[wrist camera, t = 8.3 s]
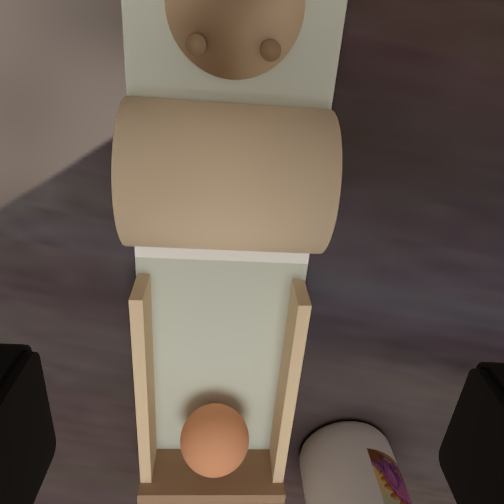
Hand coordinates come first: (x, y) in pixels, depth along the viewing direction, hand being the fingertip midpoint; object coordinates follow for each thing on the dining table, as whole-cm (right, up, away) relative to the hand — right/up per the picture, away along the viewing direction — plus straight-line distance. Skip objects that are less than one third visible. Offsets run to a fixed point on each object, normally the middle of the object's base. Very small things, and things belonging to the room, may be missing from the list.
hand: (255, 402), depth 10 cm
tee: (-1, +16, +12) cm, 20 cm away
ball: (-3, -10, +23) cm, 25 cm away
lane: (-2, +4, +22) cm, 22 cm away
